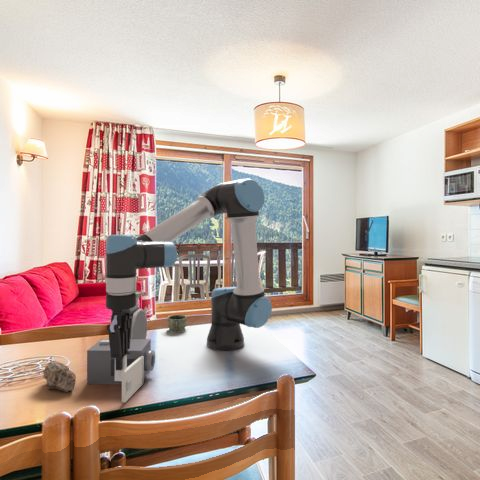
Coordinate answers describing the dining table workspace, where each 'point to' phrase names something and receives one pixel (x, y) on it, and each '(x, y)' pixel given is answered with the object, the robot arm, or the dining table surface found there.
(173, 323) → the vessel
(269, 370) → the dining table surface
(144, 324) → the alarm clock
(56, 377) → the rock
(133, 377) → the door
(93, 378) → the camera body
